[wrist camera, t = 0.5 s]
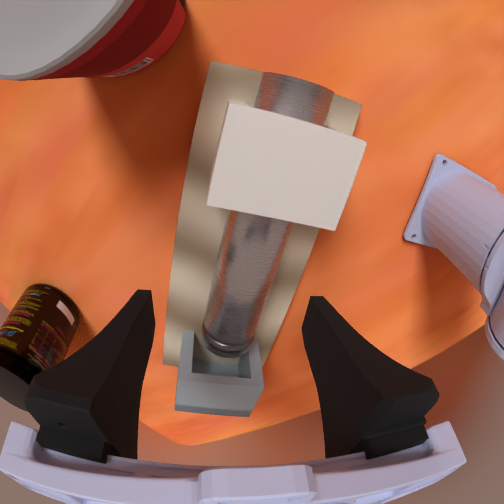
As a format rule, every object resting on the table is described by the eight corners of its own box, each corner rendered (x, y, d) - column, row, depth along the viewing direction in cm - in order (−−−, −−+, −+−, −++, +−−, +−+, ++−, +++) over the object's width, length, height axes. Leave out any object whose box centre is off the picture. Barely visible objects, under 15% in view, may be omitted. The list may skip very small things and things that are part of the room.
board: (211, 62, 16) (210, 61, 15) (356, 103, 18) (362, 104, 17) (163, 356, 29) (162, 364, 28) (258, 367, 31) (259, 375, 30)
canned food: (212, 0, 14) (202, -81, 4) (141, 97, 17) (59, 114, 7) (122, -38, 11) (50, -106, 2) (58, 55, 14) (-53, 56, 5)
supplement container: (15, 293, 24) (-31, 368, 15) (49, 269, 23) (-4, 354, 14) (55, 338, 27) (24, 415, 18) (94, 321, 26) (62, 411, 17)
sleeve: (228, 99, 17) (229, 102, 12) (331, 126, 18) (367, 142, 13) (210, 174, 19) (206, 205, 14) (309, 195, 20) (334, 231, 16)
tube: (258, 73, 16) (267, 69, 12) (322, 92, 17) (346, 94, 13) (201, 317, 25) (199, 355, 21) (248, 324, 26) (253, 360, 22)
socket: (183, 329, 26) (178, 378, 21) (257, 339, 27) (264, 387, 22) (178, 364, 28) (174, 410, 24) (244, 372, 30) (249, 416, 25)
